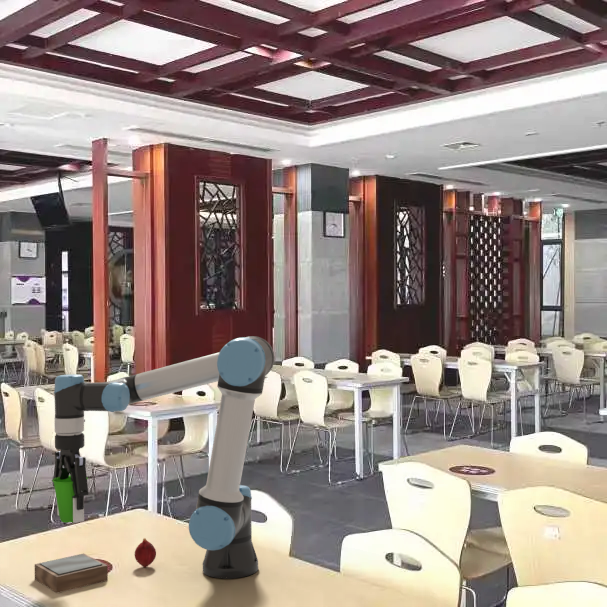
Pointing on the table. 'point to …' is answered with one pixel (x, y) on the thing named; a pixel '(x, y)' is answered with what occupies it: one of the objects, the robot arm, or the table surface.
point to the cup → (64, 498)
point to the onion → (145, 553)
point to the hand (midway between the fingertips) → (70, 518)
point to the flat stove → (71, 572)
